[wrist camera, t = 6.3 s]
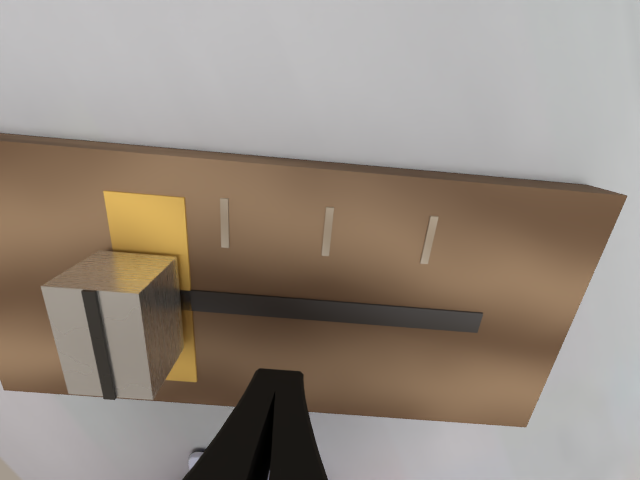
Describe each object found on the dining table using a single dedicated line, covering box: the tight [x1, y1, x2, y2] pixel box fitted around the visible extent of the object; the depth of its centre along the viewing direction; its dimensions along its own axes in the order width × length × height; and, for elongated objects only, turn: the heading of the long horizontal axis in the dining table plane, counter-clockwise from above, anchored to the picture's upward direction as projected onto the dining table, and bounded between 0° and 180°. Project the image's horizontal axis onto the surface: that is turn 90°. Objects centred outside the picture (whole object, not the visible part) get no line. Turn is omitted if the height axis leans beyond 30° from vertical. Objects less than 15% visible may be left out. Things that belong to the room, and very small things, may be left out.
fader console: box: [0, 133, 627, 427], centre depth 15 cm, size 12×26×2 cm, turn 85°
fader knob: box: [41, 251, 184, 400], centre depth 12 cm, size 4×3×3 cm
